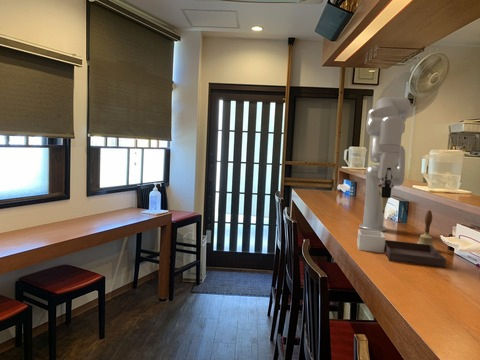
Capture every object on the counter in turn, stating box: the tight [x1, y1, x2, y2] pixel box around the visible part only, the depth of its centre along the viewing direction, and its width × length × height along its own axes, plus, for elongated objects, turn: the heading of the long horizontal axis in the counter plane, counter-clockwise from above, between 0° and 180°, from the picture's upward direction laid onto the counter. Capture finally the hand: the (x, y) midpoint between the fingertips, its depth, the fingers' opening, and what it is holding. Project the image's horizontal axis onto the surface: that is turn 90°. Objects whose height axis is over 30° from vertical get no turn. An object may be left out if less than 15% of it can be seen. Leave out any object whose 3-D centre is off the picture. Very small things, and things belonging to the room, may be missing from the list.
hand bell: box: [417, 209, 435, 248], centre depth 139 cm, size 8×8×16 cm
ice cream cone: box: [378, 178, 395, 213], centre depth 133 cm, size 6×6×15 cm
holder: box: [356, 228, 386, 254], centre depth 137 cm, size 9×9×6 cm
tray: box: [384, 239, 447, 269], centre depth 129 cm, size 18×18×3 cm
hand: (384, 196), depth 133 cm, fingers closed on ice cream cone, 5 cm apart
